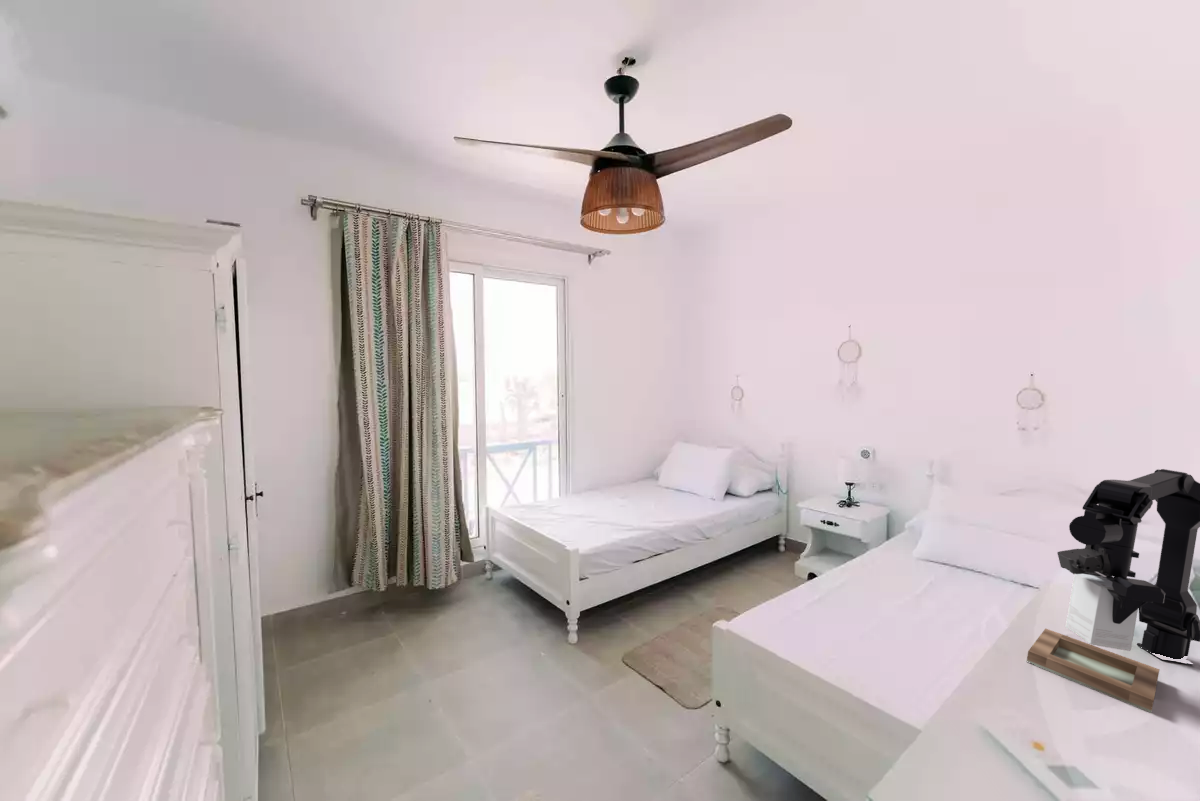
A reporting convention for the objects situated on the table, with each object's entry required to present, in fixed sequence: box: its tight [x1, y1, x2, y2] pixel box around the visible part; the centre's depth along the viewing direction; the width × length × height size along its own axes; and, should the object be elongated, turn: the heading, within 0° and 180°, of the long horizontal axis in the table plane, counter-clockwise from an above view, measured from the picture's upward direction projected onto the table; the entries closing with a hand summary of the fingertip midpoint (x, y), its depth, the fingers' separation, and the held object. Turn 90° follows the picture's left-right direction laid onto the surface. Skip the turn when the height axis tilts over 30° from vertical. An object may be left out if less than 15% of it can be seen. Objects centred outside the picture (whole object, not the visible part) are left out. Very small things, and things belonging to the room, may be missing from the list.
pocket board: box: [1026, 628, 1160, 714], centre depth 104 cm, size 18×18×2 cm
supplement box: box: [1065, 574, 1139, 652], centre depth 103 cm, size 7×7×13 cm
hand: (1101, 614), depth 103 cm, fingers closed on supplement box, 7 cm apart
